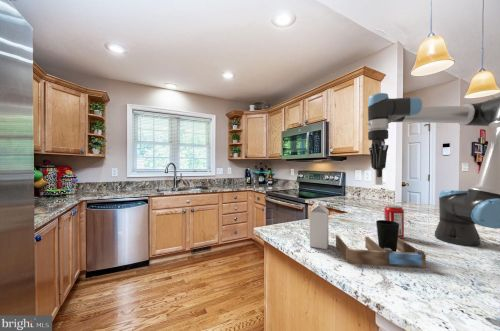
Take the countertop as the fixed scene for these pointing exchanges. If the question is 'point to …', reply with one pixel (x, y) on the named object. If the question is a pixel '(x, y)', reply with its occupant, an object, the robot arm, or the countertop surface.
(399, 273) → the countertop surface
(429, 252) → the countertop surface
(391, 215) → the soda can
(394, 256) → the comb rack
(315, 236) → the milk carton
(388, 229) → the cup
